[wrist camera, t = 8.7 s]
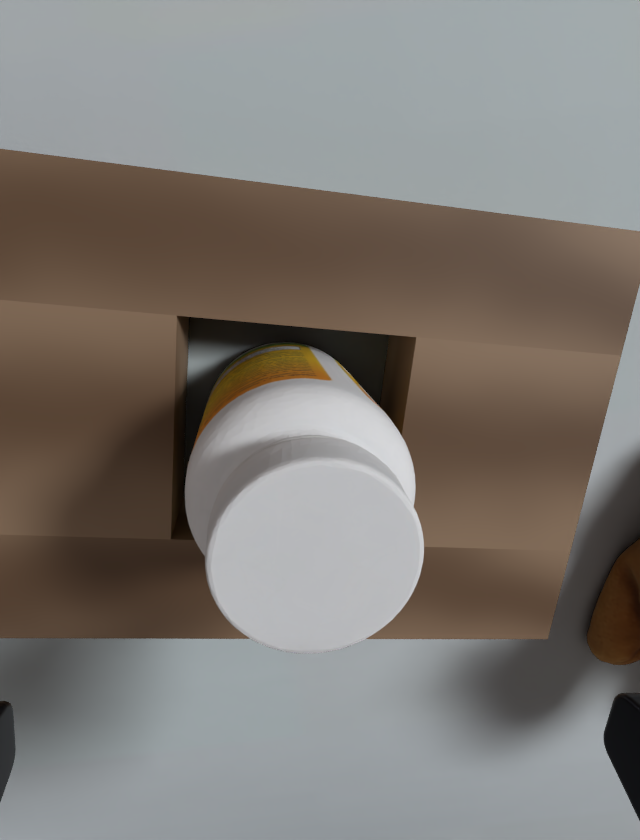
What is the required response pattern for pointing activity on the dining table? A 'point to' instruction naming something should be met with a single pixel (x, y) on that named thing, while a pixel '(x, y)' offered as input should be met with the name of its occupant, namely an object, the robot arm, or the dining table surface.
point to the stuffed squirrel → (618, 612)
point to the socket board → (303, 307)
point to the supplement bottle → (302, 502)
